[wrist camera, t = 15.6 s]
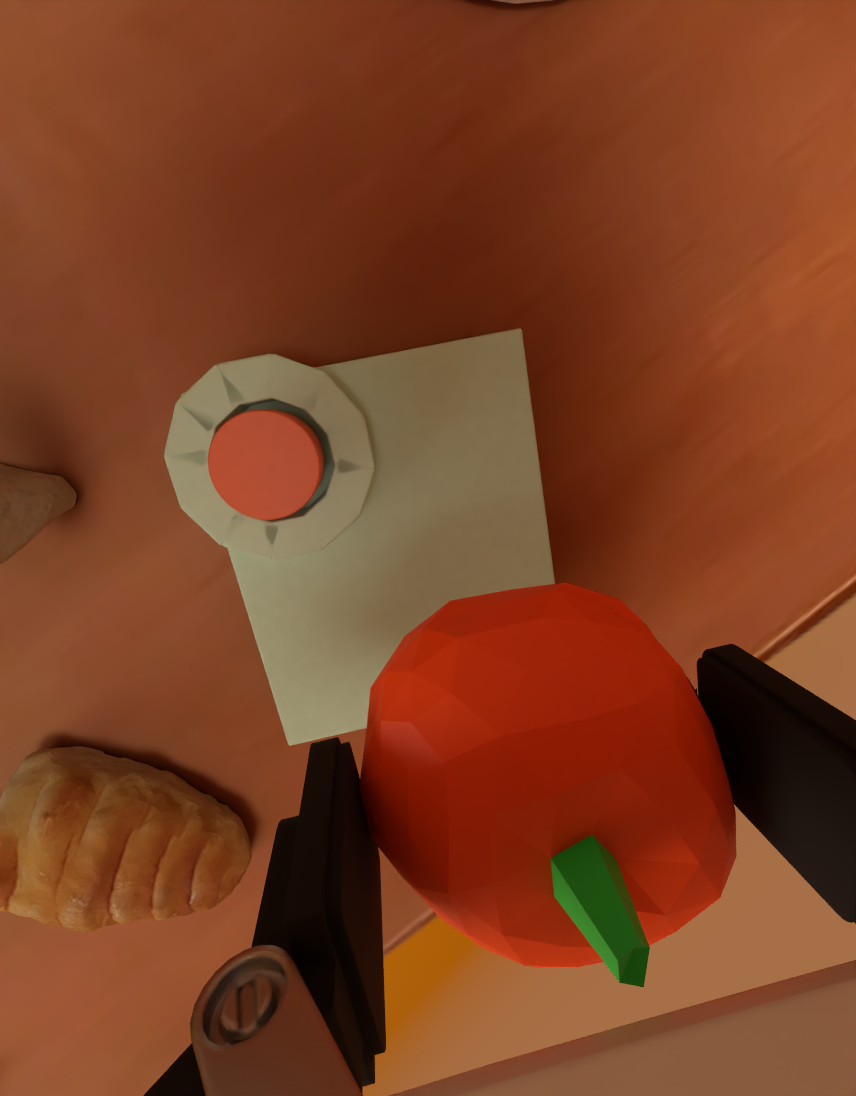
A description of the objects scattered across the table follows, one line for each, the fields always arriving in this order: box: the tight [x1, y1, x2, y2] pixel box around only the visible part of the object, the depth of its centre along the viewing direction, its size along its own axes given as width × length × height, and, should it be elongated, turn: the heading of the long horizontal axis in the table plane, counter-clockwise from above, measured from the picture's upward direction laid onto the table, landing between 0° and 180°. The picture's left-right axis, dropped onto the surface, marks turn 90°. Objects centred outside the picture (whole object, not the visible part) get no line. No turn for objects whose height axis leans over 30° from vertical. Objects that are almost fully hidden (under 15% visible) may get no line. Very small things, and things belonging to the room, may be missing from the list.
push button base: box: [164, 328, 555, 746], centre depth 18 cm, size 13×11×4 cm
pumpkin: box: [359, 583, 736, 987], centre depth 10 cm, size 7×8×6 cm
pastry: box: [0, 746, 251, 932], centre depth 20 cm, size 9×7×4 cm
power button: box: [208, 410, 324, 520], centre depth 15 cm, size 3×3×2 cm
